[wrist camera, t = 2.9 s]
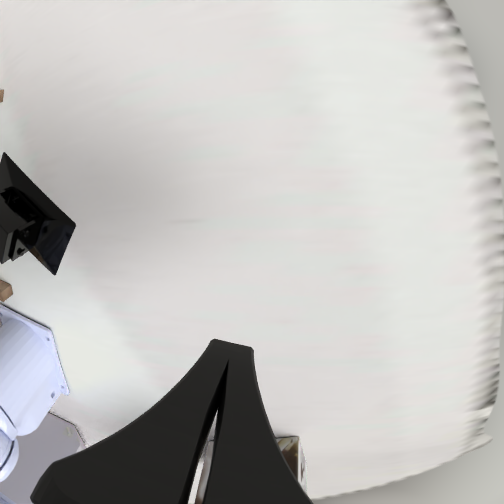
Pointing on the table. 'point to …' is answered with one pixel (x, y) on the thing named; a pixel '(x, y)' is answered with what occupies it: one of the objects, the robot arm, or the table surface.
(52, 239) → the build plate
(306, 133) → the table surface
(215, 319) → the table surface
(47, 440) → the game console
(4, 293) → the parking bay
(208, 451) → the coffee box
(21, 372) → the robot arm
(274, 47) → the table surface
